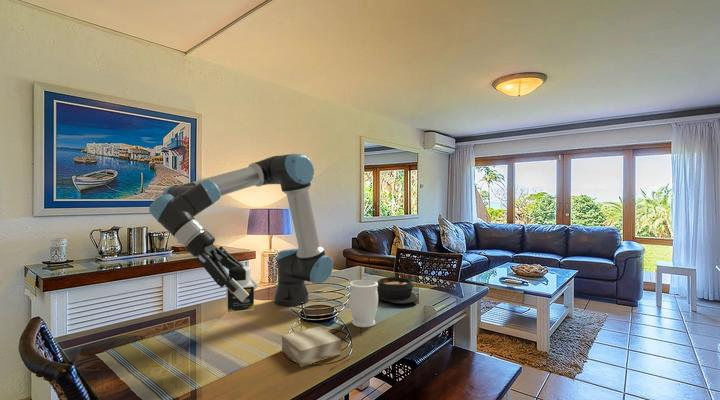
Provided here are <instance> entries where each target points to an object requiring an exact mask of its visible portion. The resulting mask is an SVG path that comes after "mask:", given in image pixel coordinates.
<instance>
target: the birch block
mask: <svg viewBox="0 0 720 400" xmlns="http://www.w3.org/2000/svg"><path fill="white" fill-rule="evenodd" d="M281 352H282V353H284V354H285V353H286V354H287V355H288V356H287V355H286V354H285V355H286V356H287V357H288V358H290V357H291V358H292V359H293V360H295V361H296V362H297V363H298V364H299V365H301V366H303V365H306V364H309V363H312V362H315V361H318V360H321V359H324V358H327V357H331V356H334V355H338V354H341V355H342V339H341V338H339V337H338V336H336V335H334V334H333V333H331V332H329V331H328V330H327V329H325V328H323V327H322V326H316V327H315V326H314V327H310V328H308V329H307V328H306V329H303V330H298V331H295V332H292V333H287V334H283V335H281ZM291 358H290V359H291ZM292 359H291V360H292ZM293 360H292V361H293ZM297 363H296V364H297ZM298 364H297V365H298ZM299 365H298V366H299Z"/></svg>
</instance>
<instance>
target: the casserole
mask: <svg viewBox="0 0 720 400" xmlns="http://www.w3.org/2000/svg"><path fill="white" fill-rule="evenodd" d="M377 282H378V286H377V292H378V300H381V301H383V302H387V303H393V304H397V305H398V304H399V305H402V304H411V303H415V302H417V301H418V298H417V296H416V294H415V293H414V292H412V291H413V288H414V287H415V286H414V284H413V282H412V280H411V279H408V278H405V277H398V276H397V277H396V276H395V277H394V276H393V277H392V276H391V277H390V276H389V277H383V278H380V279H378V280H377Z"/></svg>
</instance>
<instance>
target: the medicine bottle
mask: <svg viewBox="0 0 720 400" xmlns="http://www.w3.org/2000/svg"><path fill="white" fill-rule="evenodd" d="M251 272H252V271H251V268H250V267H249V266H247V265H244V266H236V267H232V268H231V269H228V275H229V277H230V278H231V279H232V278H233V279H234V280H235V281H236V282H237V283H238V284H239V285H240V286H241V287H242V288H243V289H244V290H245V291H246V292H247V293H248V294H249V295H248V296H247V297H246V298H245V299H244V300H243V301H242V302H241V301H240V300H239V299H238V298H237V297H236V296H235V295H234V294H233V293H232V292H231V291H230V290H229V289H228V288H227V287H226V286H225V288H226V290H225V291H226V293H225V294H226V300H225V301H226V304H225V305H226V309H227V313H228V314H231V313H232V314H233V313H240V312H246V311H247V312H248V311H253V310H255V290H254V285H253V283H252V281H251V278H252V275H251V274H252V273H251ZM231 279H230V280H231Z"/></svg>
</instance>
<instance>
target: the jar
mask: <svg viewBox="0 0 720 400" xmlns="http://www.w3.org/2000/svg"><path fill="white" fill-rule="evenodd" d="M377 286H378V281H376V280H372V279H358V280H352V281H351V282H350V283H349V287H350V291H349V306H350V313H351V316H352V319H353V320H352V325H353V326H355V327H358V328H369V327H373V326H374V325H376V320H375V318H376V316H377V312H378V306H379V299H378V292H377V289H378V288H377Z"/></svg>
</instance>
